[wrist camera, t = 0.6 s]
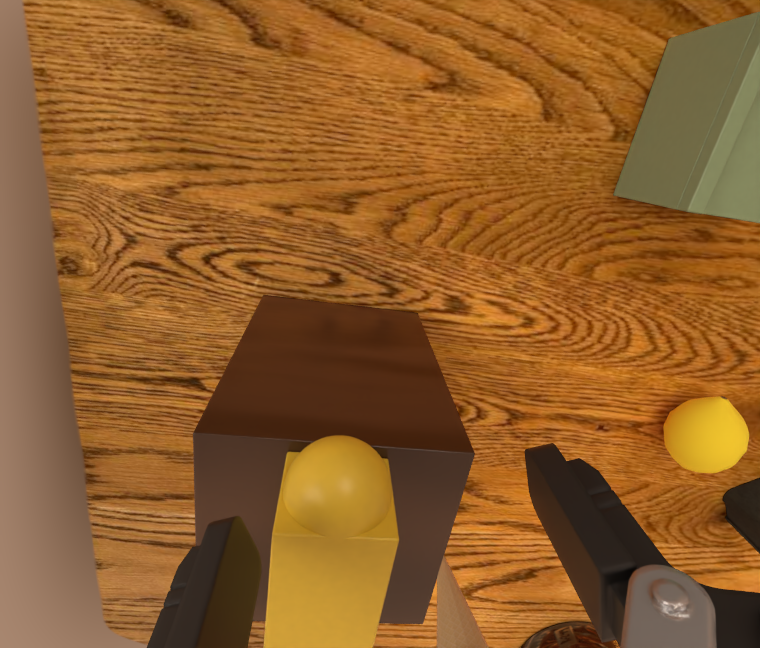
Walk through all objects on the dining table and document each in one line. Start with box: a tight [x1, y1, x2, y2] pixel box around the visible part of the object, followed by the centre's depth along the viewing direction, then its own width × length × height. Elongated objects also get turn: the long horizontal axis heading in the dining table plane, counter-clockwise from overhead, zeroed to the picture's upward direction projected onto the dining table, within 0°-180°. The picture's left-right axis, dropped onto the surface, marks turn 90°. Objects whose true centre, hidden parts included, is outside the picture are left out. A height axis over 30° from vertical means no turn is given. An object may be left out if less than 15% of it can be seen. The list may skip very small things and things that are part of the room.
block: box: [613, 12, 760, 223], centre depth 24 cm, size 9×9×7 cm
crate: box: [193, 295, 475, 624], centre depth 25 cm, size 11×11×15 cm
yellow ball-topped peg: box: [264, 435, 399, 648], centre depth 17 cm, size 14×4×4 cm, turn 171°
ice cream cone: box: [437, 556, 489, 648], centre depth 34 cm, size 6×6×15 cm
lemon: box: [663, 396, 749, 473], centre depth 34 cm, size 7×5×5 cm
